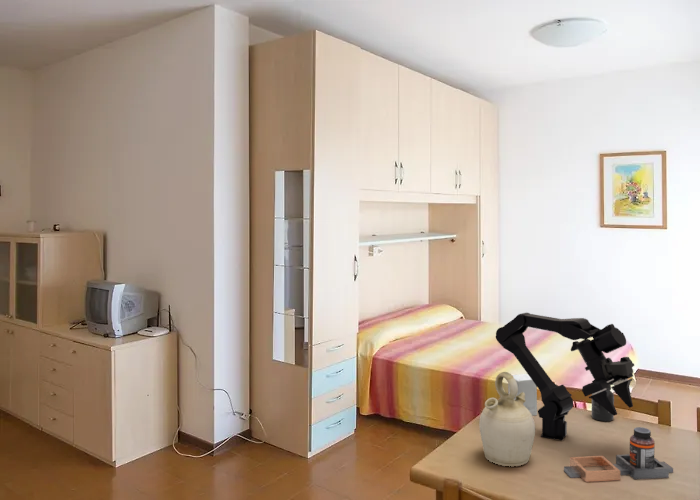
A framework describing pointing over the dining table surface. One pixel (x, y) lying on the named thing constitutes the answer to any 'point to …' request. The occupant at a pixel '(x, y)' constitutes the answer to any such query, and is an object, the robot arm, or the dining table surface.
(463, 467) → the dining table surface
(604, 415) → the supplement bottle
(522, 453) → the jug
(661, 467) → the socket rail
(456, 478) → the dining table surface
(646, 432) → the supplement bottle
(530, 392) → the supplement box
